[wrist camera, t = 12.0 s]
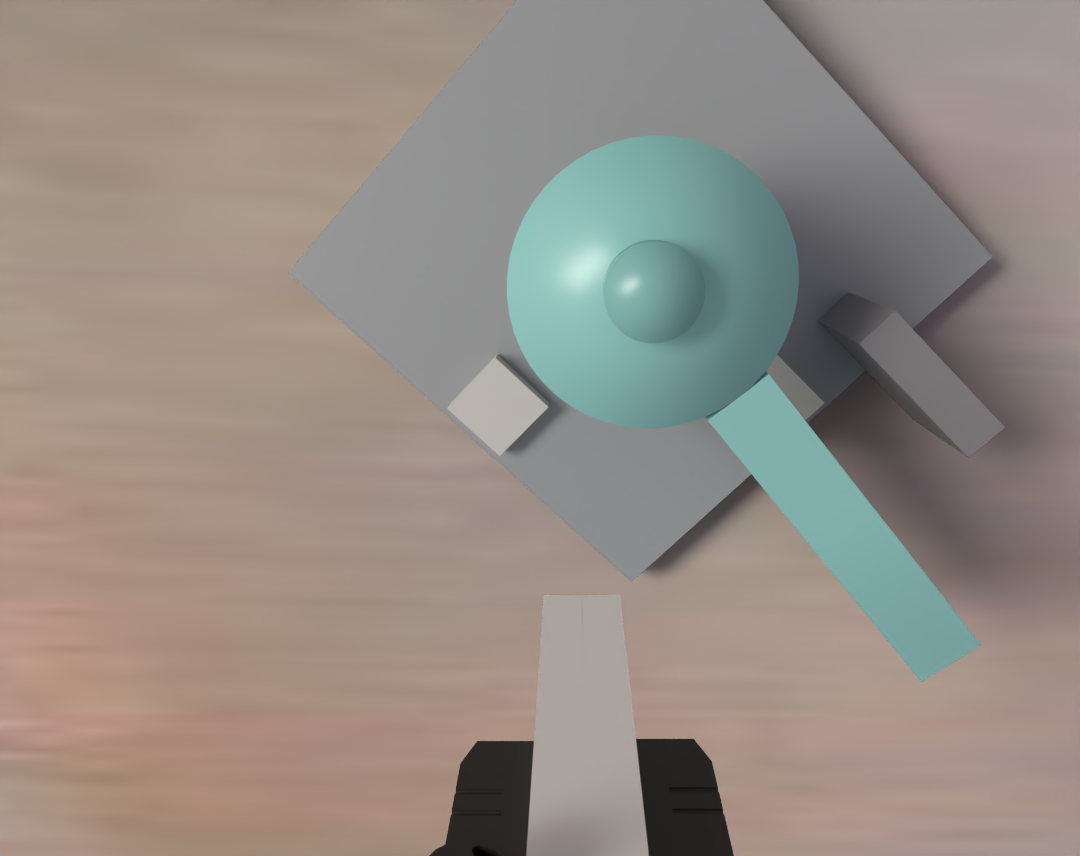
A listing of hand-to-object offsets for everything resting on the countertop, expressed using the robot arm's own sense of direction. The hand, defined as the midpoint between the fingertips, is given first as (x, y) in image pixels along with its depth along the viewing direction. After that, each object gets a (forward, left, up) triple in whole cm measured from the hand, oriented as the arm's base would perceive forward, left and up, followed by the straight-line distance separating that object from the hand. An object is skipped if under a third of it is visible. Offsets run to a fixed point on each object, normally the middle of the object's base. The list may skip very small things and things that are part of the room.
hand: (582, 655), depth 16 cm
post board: (-6, -1, -21) cm, 21 cm away
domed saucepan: (-5, +4, -17) cm, 18 cm away
